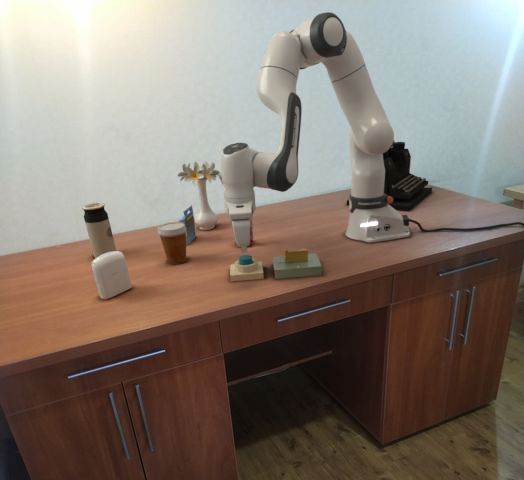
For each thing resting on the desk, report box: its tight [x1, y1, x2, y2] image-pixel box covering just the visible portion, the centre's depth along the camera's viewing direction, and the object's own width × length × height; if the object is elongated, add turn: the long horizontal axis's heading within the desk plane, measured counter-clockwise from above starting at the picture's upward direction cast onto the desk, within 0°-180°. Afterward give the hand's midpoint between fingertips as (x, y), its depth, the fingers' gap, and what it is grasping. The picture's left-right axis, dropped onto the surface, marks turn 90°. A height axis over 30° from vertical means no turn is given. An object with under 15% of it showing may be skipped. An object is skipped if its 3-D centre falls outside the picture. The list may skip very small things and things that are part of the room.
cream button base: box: [229, 258, 265, 282], centre depth 149 cm, size 10×9×4 cm
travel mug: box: [81, 202, 117, 259], centre depth 168 cm, size 8×8×18 cm
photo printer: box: [90, 250, 132, 300], centre depth 141 cm, size 10×4×12 cm, turn 140°
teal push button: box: [238, 254, 253, 265], centre depth 147 cm, size 4×4×2 cm
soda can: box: [231, 217, 254, 246], centre depth 170 cm, size 7×7×12 cm
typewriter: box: [346, 139, 433, 212], centre depth 205 cm, size 31×27×25 cm
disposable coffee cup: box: [157, 221, 187, 265], centre depth 161 cm, size 10×10×12 cm
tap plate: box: [272, 252, 323, 280], centre depth 149 cm, size 11×14×3 cm
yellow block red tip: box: [283, 248, 309, 263], centre depth 147 cm, size 7×2×4 cm, turn 93°
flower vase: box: [177, 160, 224, 231], centre depth 187 cm, size 13×18×25 cm
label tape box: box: [177, 204, 197, 246], centre depth 178 cm, size 9×4×12 cm, turn 168°
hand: (244, 251), depth 146 cm, fingers closed
